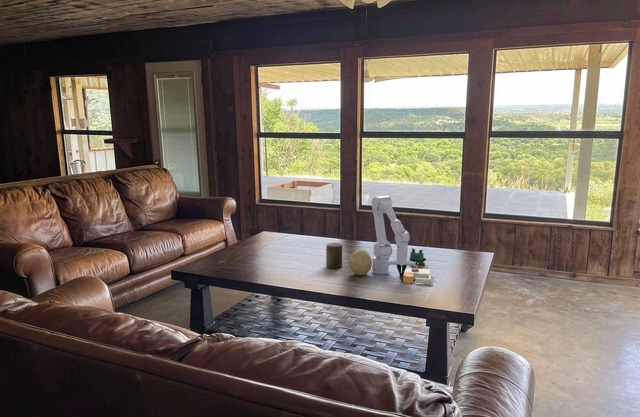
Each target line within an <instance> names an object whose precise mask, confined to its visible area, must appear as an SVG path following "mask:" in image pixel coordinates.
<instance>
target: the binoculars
mask: <svg viewBox="0 0 640 417" xmlns="http://www.w3.org/2000/svg"><path fill="white" fill-rule="evenodd" d="M418 251H419V252H416V249H415V248H411V252H410V253H409V261H411V262H415V265H417V267H418V268H422V267H423V266H425V265H426V264H425V261H427V258H426V257H425V256H424V255H425V254H424V253H423V249H419V250H418Z"/></svg>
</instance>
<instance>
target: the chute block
mask: <svg viewBox="0 0 640 417" xmlns="http://www.w3.org/2000/svg"><path fill="white" fill-rule="evenodd" d="M402 281H403V283H409V282H414V279H413V274H409V273H404V276H403V279H402Z"/></svg>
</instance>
